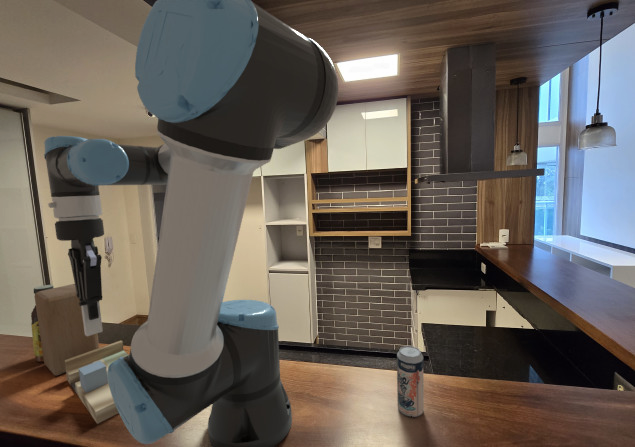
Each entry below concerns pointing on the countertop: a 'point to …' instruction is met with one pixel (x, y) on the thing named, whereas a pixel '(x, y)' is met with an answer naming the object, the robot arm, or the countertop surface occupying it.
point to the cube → (93, 376)
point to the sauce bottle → (37, 327)
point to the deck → (100, 398)
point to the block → (62, 327)
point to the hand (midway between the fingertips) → (93, 332)
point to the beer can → (410, 381)
